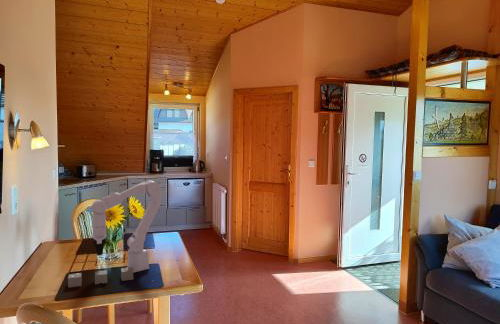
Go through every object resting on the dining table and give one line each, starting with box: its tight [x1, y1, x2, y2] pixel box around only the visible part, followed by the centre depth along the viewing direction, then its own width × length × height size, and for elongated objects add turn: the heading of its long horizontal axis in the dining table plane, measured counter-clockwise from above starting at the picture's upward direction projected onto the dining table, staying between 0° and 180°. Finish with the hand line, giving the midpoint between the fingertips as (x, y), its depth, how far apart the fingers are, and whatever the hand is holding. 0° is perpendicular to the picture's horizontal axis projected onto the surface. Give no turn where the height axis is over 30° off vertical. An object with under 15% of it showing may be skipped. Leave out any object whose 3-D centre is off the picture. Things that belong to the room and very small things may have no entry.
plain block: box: [94, 269, 108, 285], centre depth 161 cm, size 5×5×4 cm
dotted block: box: [67, 272, 82, 289], centre depth 157 cm, size 5×5×4 cm
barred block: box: [120, 267, 134, 282], centre depth 165 cm, size 5×5×4 cm
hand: (99, 254), depth 169 cm, fingers closed
